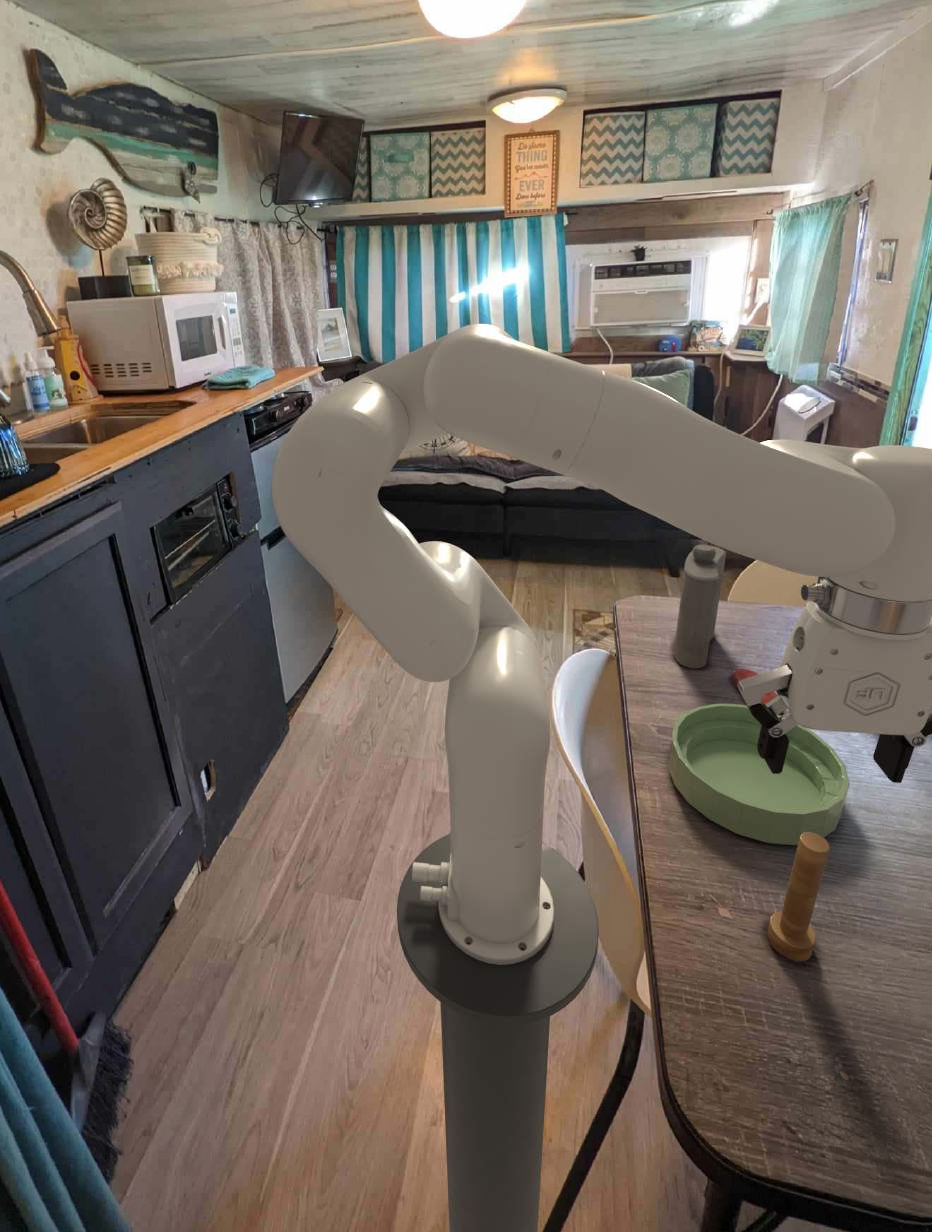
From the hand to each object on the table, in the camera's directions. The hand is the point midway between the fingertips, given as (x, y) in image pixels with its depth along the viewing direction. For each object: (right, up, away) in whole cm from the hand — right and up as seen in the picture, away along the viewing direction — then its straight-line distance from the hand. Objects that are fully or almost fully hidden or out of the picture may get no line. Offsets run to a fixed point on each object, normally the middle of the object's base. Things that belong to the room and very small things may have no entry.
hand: (827, 766), depth 57 cm
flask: (+16, -1, +59) cm, 61 cm away
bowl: (+9, -13, +28) cm, 32 cm away
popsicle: (+19, -7, +43) cm, 48 cm away
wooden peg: (+2, -21, +8) cm, 23 cm away
